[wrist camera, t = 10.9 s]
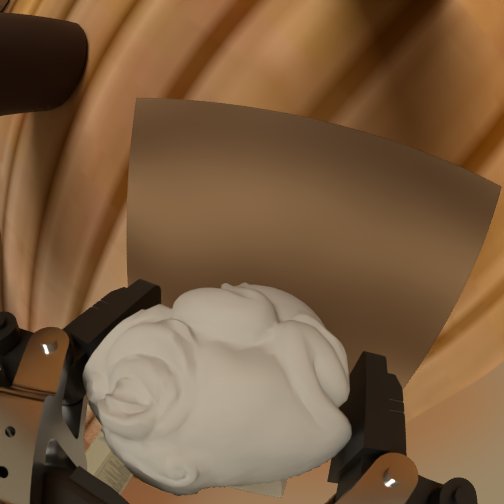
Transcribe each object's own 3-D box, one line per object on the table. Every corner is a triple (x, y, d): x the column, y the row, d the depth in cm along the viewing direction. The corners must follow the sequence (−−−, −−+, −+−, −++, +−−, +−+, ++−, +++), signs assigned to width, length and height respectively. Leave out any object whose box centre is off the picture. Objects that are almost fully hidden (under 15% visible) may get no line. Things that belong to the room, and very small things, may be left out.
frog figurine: (179, 219, 10) (7, 329, 4) (385, 269, 9) (414, 488, 2) (178, 348, 13) (86, 466, 6) (331, 395, 11) (297, 549, 5)
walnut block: (185, 103, 13) (136, 97, 10) (463, 172, 11) (501, 186, 7) (167, 323, 19) (134, 358, 16) (366, 387, 17) (363, 437, 13)
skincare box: (102, 427, 32) (56, 483, 21) (122, 434, 30) (74, 497, 19) (125, 453, 34) (85, 507, 23) (145, 460, 32) (105, 519, 21)
